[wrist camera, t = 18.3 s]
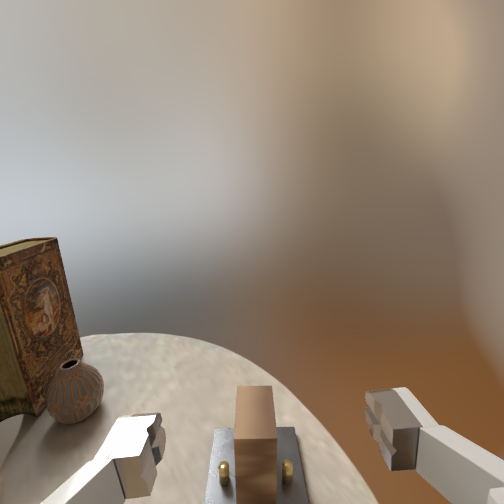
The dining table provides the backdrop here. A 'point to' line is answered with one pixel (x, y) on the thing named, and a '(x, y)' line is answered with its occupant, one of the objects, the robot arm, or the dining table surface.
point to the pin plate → (223, 469)
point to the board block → (255, 446)
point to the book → (33, 324)
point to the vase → (74, 392)
